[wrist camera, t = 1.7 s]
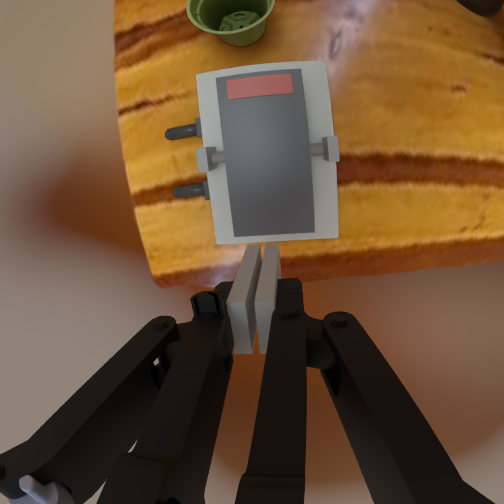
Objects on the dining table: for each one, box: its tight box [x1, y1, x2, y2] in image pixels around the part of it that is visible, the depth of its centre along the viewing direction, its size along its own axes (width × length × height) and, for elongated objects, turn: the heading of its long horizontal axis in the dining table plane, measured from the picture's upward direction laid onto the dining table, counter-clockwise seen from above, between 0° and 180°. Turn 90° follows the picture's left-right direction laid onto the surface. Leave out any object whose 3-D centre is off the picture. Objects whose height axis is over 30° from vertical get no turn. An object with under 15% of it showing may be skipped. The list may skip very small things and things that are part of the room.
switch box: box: [165, 61, 340, 245], centre depth 30 cm, size 21×20×10 cm
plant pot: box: [187, 0, 275, 46], centre depth 24 cm, size 9×9×9 cm
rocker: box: [211, 69, 324, 237], centre depth 25 cm, size 11×16×2 cm, turn 6°
